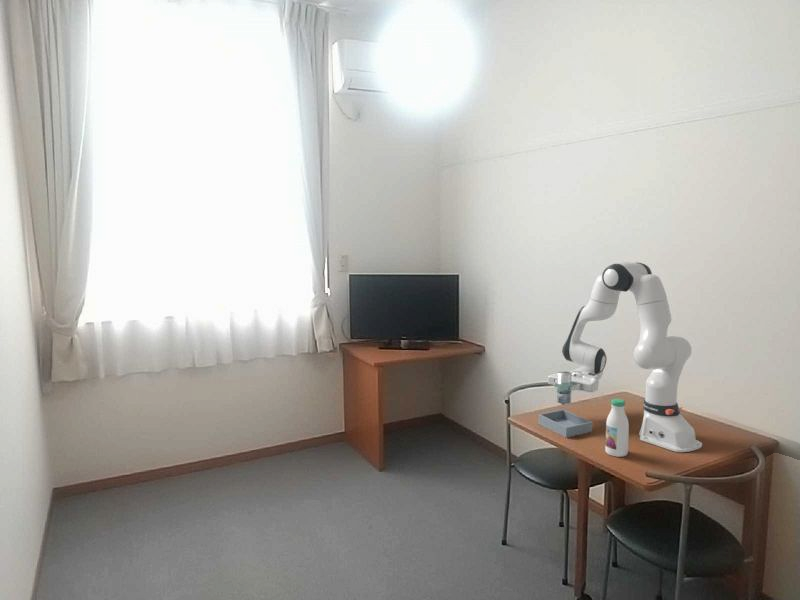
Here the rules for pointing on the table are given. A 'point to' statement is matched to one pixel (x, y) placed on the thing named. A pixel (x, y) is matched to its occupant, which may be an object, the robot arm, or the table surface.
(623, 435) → the milk bottle
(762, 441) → the table surface
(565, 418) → the tote
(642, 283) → the robot arm
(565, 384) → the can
